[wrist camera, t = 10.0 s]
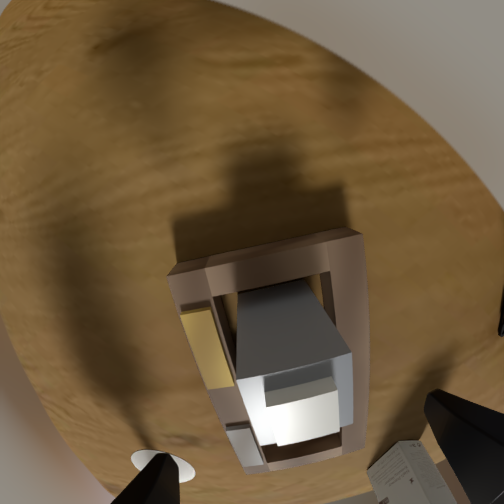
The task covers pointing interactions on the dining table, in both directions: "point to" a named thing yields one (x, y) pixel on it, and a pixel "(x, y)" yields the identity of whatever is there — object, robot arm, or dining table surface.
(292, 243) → the brown wooden flat frame
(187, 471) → the champagne flute
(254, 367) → the plug
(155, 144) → the dining table surface
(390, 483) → the skincare box
